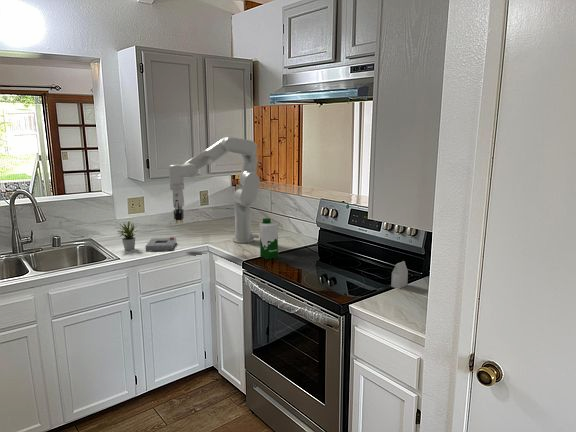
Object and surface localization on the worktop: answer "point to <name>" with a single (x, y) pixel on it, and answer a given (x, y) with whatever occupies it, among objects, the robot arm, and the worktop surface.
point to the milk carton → (268, 239)
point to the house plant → (128, 236)
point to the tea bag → (399, 275)
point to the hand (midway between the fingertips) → (179, 218)
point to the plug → (181, 216)
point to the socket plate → (161, 244)
